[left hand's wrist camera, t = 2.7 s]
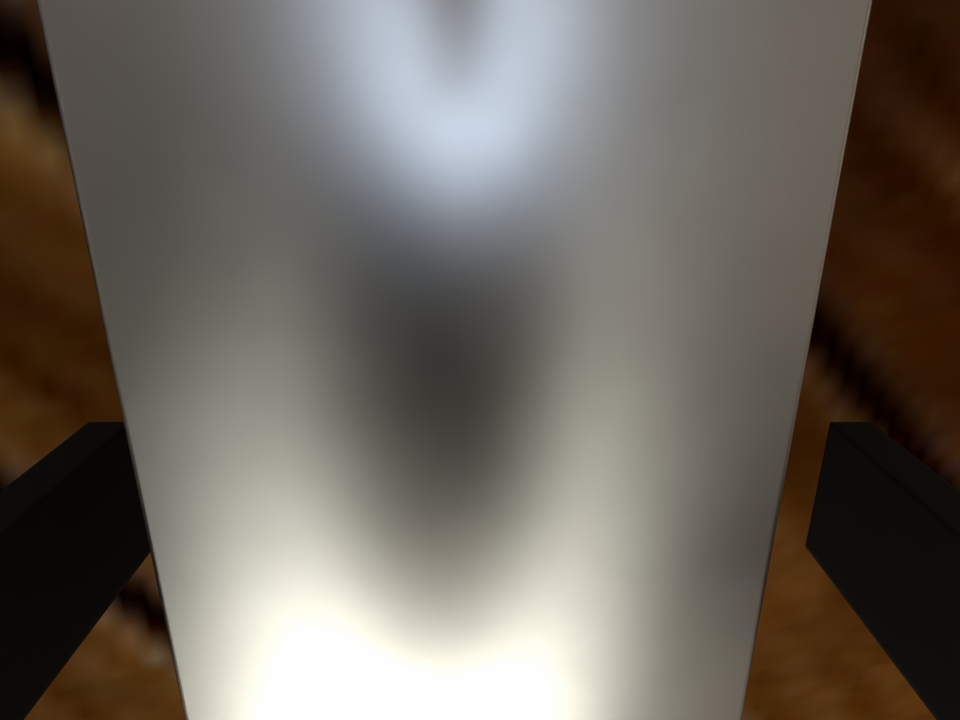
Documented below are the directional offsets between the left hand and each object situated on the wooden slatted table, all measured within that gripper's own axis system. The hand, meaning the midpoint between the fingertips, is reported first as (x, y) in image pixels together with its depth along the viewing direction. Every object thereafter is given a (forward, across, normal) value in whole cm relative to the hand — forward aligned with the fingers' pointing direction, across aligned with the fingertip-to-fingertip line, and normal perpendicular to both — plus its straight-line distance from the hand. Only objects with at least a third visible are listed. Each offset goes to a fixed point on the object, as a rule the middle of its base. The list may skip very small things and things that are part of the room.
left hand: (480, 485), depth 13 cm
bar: (+3, 0, -8) cm, 9 cm away
